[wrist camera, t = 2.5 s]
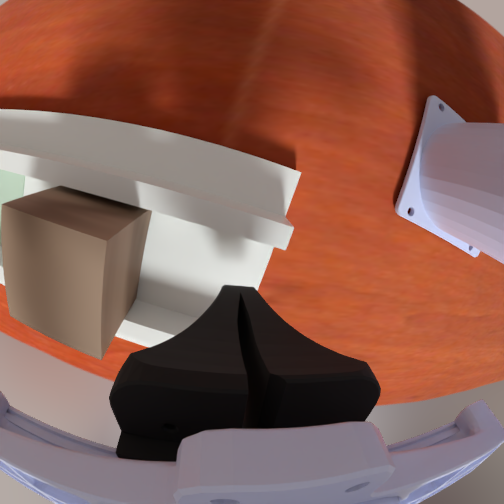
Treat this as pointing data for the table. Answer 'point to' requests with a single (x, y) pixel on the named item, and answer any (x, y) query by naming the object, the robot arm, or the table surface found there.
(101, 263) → the block
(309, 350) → the robot arm
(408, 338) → the table surface
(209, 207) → the chute
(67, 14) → the table surface
